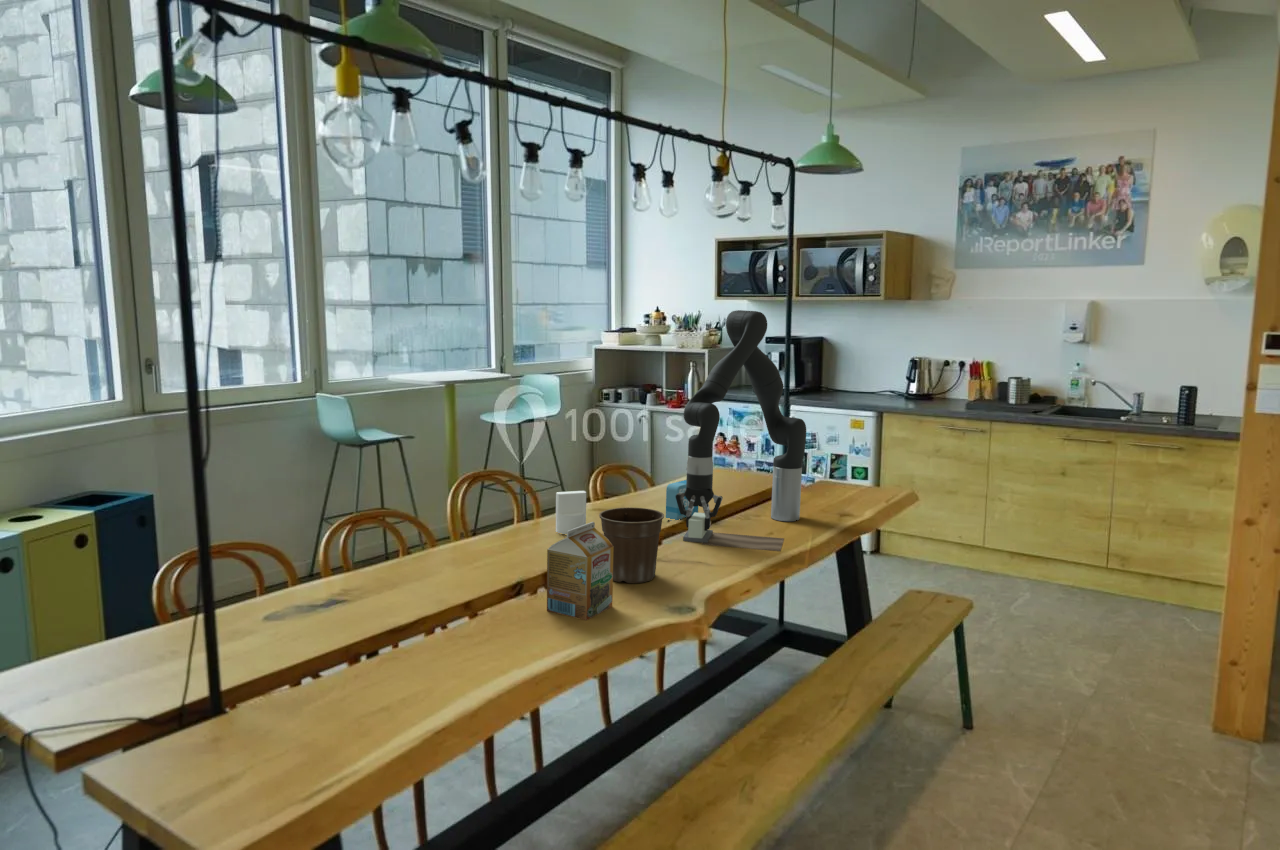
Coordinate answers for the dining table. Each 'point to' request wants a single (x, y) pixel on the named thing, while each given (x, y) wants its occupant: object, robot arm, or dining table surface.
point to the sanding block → (697, 529)
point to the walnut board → (745, 541)
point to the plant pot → (633, 542)
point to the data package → (671, 501)
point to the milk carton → (580, 573)
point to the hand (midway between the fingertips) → (698, 529)
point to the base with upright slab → (570, 510)
